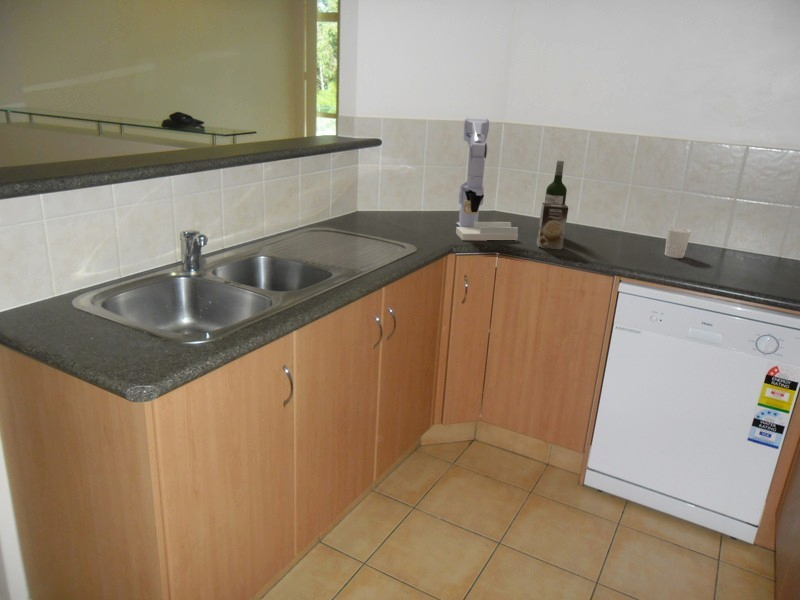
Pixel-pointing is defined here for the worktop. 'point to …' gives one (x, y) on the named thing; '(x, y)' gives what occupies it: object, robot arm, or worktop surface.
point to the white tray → (488, 231)
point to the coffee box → (552, 226)
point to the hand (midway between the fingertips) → (472, 210)
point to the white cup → (676, 242)
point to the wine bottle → (556, 187)
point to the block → (468, 207)
